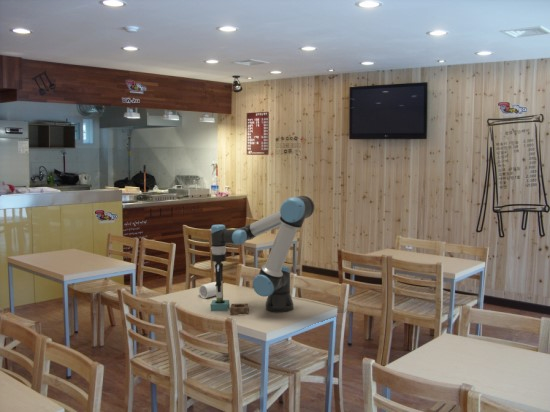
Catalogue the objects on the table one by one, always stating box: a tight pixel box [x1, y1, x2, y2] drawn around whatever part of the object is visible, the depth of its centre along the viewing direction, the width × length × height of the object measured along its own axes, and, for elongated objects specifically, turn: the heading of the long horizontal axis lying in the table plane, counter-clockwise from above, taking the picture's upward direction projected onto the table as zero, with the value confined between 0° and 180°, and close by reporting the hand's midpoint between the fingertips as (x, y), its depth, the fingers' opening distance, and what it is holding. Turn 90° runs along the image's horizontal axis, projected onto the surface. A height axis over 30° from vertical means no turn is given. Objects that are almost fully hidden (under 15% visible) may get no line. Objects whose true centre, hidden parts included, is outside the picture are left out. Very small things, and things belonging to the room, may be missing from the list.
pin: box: [215, 280, 224, 303], centre depth 309 cm, size 4×4×14 cm
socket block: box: [210, 299, 230, 312], centre depth 310 cm, size 9×9×4 cm
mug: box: [198, 281, 216, 299], centre depth 337 cm, size 12×10×8 cm
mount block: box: [229, 302, 249, 316], centre depth 302 cm, size 9×9×4 cm
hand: (219, 296), depth 310 cm, fingers closed on pin, 3 cm apart
